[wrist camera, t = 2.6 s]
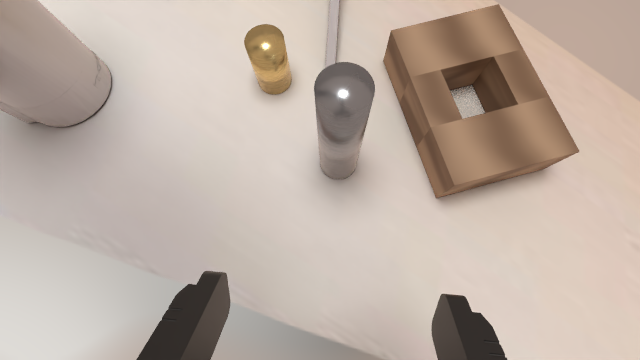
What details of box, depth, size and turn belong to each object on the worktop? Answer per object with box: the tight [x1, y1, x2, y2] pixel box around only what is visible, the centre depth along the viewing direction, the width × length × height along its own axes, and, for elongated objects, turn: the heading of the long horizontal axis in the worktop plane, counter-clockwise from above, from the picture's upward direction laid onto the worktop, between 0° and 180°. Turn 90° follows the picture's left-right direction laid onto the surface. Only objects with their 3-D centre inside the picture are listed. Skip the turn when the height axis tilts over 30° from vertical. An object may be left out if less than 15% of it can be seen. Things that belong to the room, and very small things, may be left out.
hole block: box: [383, 4, 580, 198], centre depth 30 cm, size 11×16×4 cm
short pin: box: [244, 24, 292, 94], centre depth 31 cm, size 4×4×6 cm
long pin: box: [314, 62, 375, 179], centre depth 25 cm, size 4×4×13 cm
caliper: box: [325, 0, 340, 68], centre depth 33 cm, size 20×1×6 cm, turn 176°
